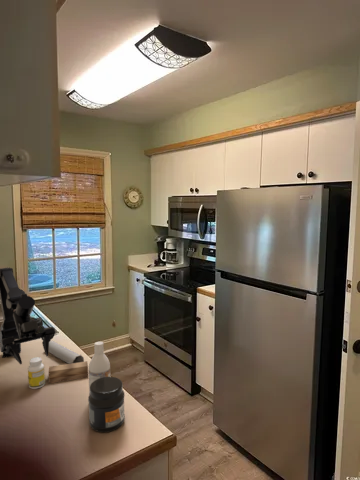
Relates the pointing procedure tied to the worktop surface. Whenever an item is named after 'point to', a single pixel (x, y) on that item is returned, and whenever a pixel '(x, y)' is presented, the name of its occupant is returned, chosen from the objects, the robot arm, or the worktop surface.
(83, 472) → the worktop surface
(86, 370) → the ridge
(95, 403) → the supplement container
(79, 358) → the tube
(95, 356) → the bath foam
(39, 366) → the supplement bottle
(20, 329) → the robot arm
